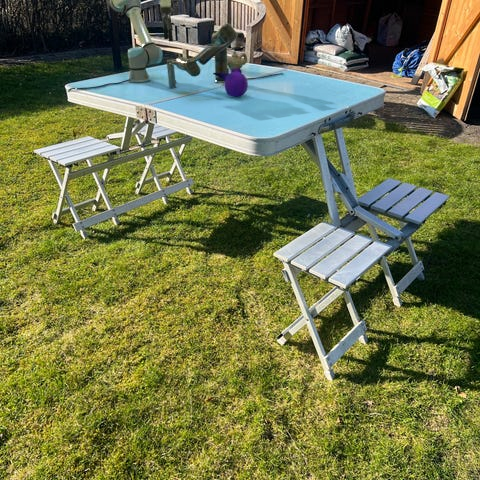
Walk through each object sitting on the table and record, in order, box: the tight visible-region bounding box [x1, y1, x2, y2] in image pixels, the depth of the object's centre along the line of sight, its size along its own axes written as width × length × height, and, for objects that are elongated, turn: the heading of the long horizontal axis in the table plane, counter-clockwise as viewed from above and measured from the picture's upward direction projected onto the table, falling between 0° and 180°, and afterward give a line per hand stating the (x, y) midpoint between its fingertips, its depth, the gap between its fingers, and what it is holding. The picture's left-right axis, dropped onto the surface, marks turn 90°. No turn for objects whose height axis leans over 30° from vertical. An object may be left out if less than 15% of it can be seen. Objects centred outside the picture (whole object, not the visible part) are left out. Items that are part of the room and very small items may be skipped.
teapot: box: [227, 50, 248, 71], centre depth 366 cm, size 21×12×15 cm, turn 120°
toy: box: [212, 68, 249, 99], centre depth 288 cm, size 16×18×27 cm
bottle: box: [166, 63, 177, 89], centre depth 313 cm, size 5×5×18 cm
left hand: (168, 40), depth 317 cm, fingers open, 13 cm apart
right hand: (175, 60), depth 299 cm, fingers open, 8 cm apart
